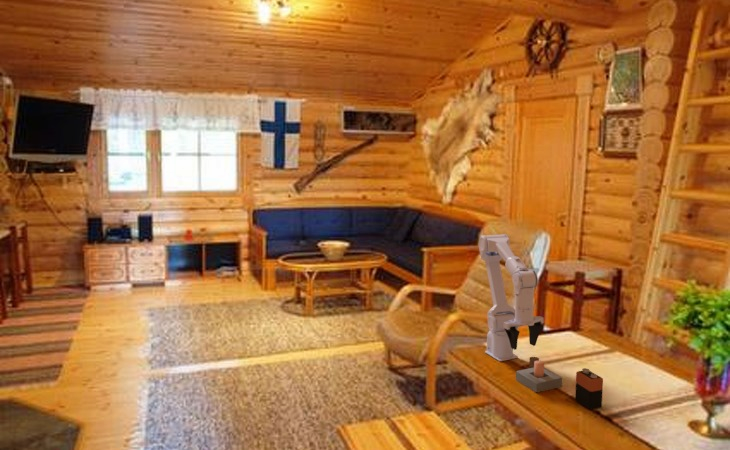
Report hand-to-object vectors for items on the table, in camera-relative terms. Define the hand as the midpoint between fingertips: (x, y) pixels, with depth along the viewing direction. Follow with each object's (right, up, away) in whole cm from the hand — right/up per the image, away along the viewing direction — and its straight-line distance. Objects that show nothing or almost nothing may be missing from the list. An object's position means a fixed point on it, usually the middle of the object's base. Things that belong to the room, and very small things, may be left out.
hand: (523, 346), depth 183 cm
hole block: (+3, -10, -6) cm, 12 cm away
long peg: (+3, -10, -6) cm, 12 cm away
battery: (+13, -13, -20) cm, 27 cm away
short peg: (+5, -9, +4) cm, 11 cm away
